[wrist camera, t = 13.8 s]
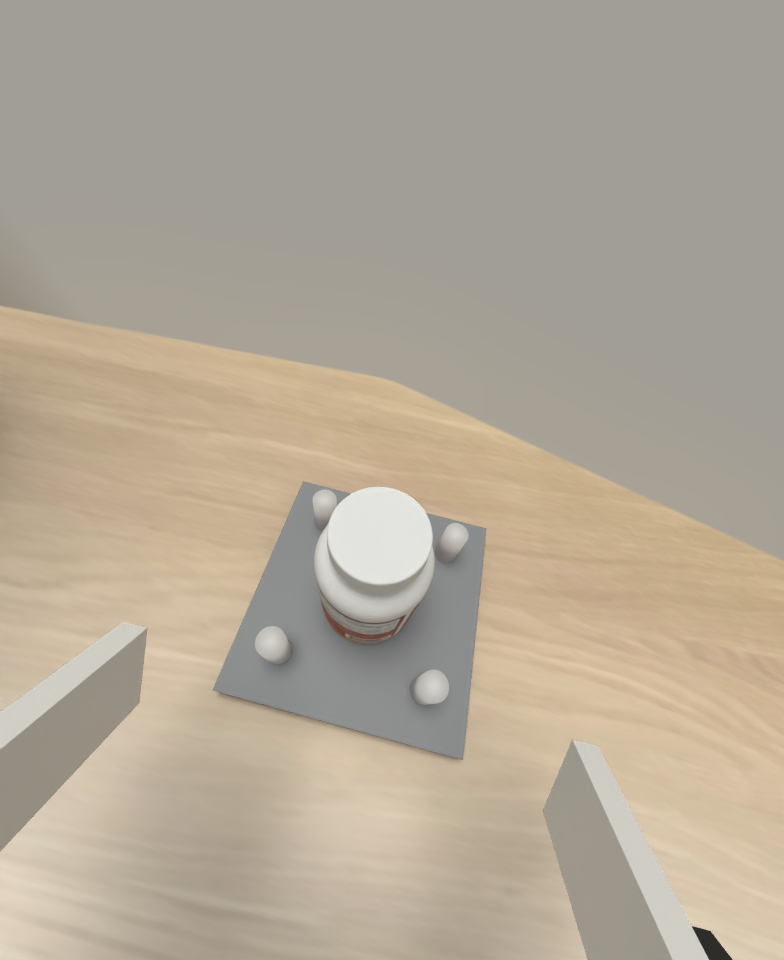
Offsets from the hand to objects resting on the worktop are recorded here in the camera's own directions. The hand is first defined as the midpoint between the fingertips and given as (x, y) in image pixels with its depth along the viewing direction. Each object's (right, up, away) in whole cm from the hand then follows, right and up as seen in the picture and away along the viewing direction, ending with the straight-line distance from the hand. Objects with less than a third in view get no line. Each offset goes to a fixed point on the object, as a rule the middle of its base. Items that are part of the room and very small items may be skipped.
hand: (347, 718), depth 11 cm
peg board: (0, -1, +15) cm, 15 cm away
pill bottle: (0, -1, +14) cm, 14 cm away
